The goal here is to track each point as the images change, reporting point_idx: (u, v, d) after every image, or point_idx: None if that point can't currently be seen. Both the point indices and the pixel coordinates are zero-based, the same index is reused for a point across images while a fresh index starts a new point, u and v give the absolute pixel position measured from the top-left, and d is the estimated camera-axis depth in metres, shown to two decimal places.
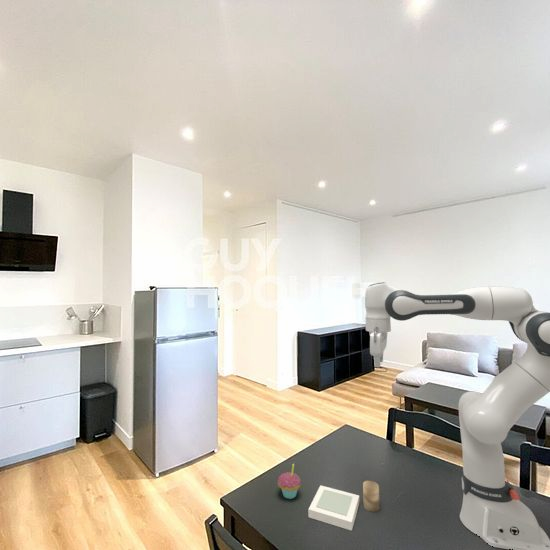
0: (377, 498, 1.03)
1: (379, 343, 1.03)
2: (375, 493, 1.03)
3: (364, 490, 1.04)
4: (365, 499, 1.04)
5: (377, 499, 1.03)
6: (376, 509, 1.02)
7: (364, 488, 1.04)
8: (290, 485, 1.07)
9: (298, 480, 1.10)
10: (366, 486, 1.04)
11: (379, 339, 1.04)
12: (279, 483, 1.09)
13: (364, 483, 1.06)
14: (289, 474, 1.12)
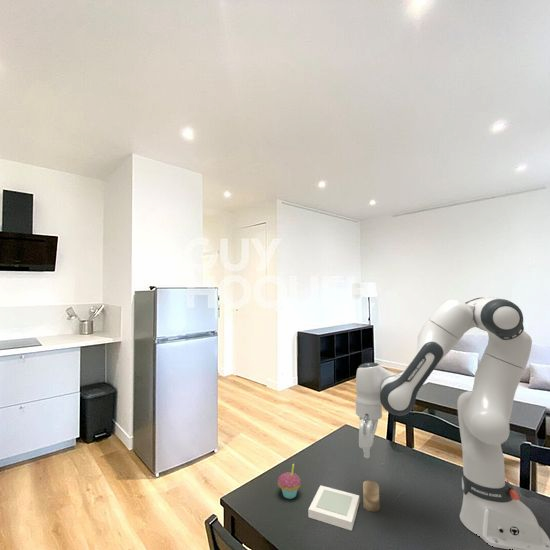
0: (377, 498, 1.03)
1: (368, 436, 0.97)
2: (375, 493, 1.03)
3: (364, 490, 1.04)
4: (365, 499, 1.04)
5: (377, 499, 1.03)
6: (376, 509, 1.02)
7: (364, 488, 1.04)
8: (290, 485, 1.07)
9: (298, 480, 1.10)
10: (366, 486, 1.04)
11: (369, 431, 0.98)
12: (279, 483, 1.09)
13: (364, 483, 1.06)
14: (289, 474, 1.12)
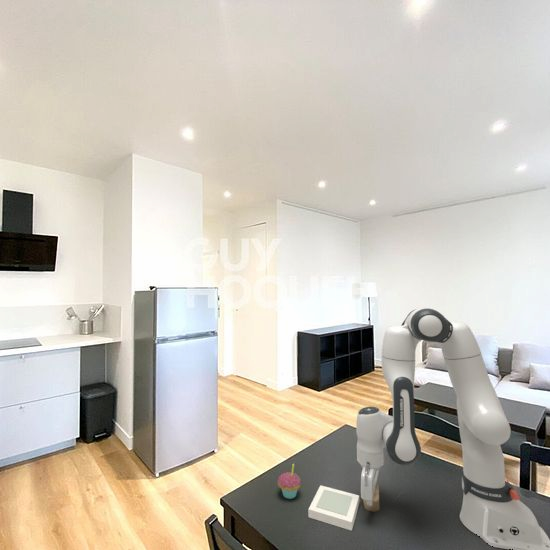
0: (377, 498, 1.03)
1: (370, 487, 0.96)
2: (375, 493, 1.03)
3: None
4: None
5: (377, 499, 1.03)
6: (376, 509, 1.02)
7: None
8: (290, 485, 1.07)
9: (298, 480, 1.10)
10: None
11: (370, 483, 0.96)
12: (279, 483, 1.09)
13: None
14: (289, 474, 1.12)
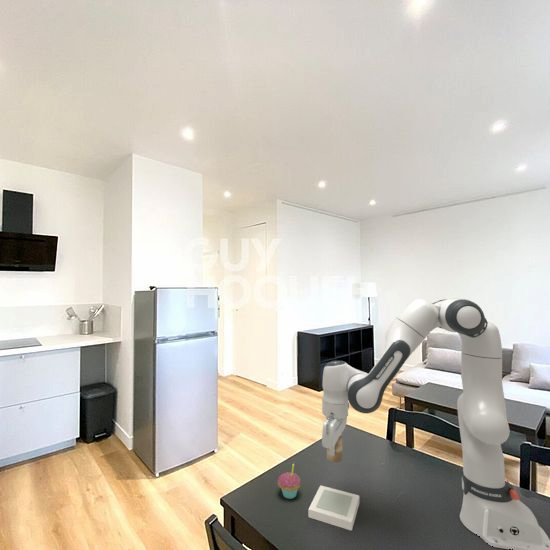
0: (340, 449, 1.03)
1: (331, 435, 0.96)
2: (338, 444, 1.02)
3: None
4: (328, 450, 1.04)
5: (340, 450, 1.03)
6: (338, 460, 1.02)
7: None
8: (290, 485, 1.07)
9: (298, 480, 1.10)
10: None
11: (332, 431, 0.96)
12: (279, 483, 1.09)
13: None
14: (289, 474, 1.12)
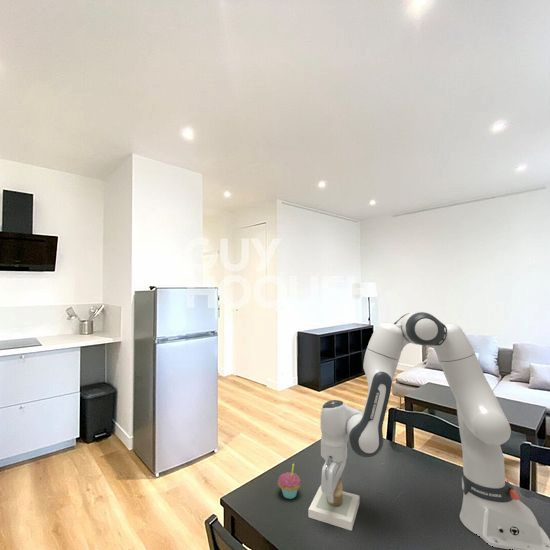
0: (340, 493, 1.01)
1: (330, 481, 0.95)
2: (338, 488, 1.01)
3: None
4: None
5: (340, 494, 1.01)
6: (339, 504, 1.01)
7: None
8: (290, 485, 1.07)
9: (298, 480, 1.10)
10: None
11: (331, 477, 0.95)
12: (279, 483, 1.09)
13: None
14: (289, 474, 1.12)
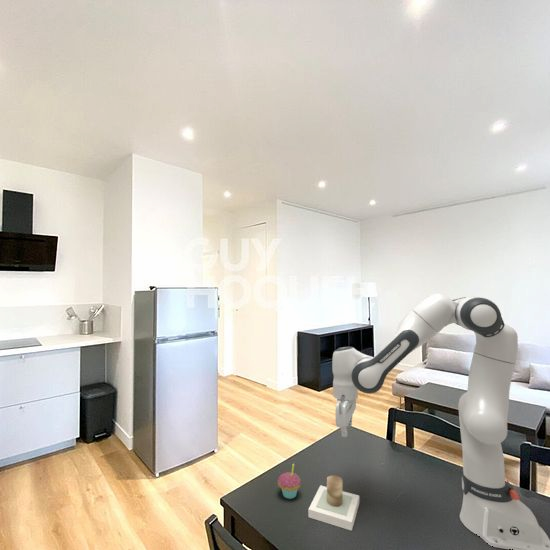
0: (340, 493, 1.01)
1: (344, 415, 1.02)
2: (338, 488, 1.01)
3: (327, 484, 1.03)
4: (328, 494, 1.02)
5: (340, 494, 1.01)
6: (338, 504, 1.01)
7: (327, 483, 1.03)
8: (290, 485, 1.07)
9: (298, 480, 1.10)
10: (330, 481, 1.03)
11: (344, 411, 1.03)
12: (279, 483, 1.09)
13: (328, 478, 1.04)
14: (289, 474, 1.12)
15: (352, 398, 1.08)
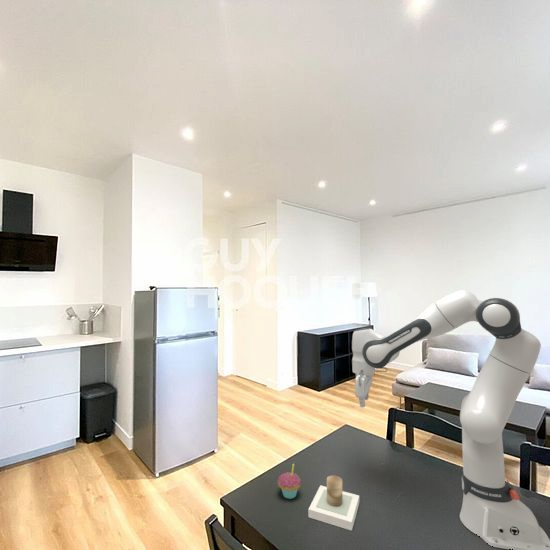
0: (340, 493, 1.01)
1: (363, 387, 1.14)
2: (338, 488, 1.01)
3: (327, 484, 1.03)
4: (328, 494, 1.02)
5: (340, 494, 1.01)
6: (338, 504, 1.01)
7: (327, 483, 1.03)
8: (290, 485, 1.07)
9: (298, 480, 1.10)
10: (329, 481, 1.03)
11: (363, 383, 1.15)
12: (279, 483, 1.09)
13: (328, 478, 1.04)
14: (289, 474, 1.12)
15: (370, 373, 1.20)
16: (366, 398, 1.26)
